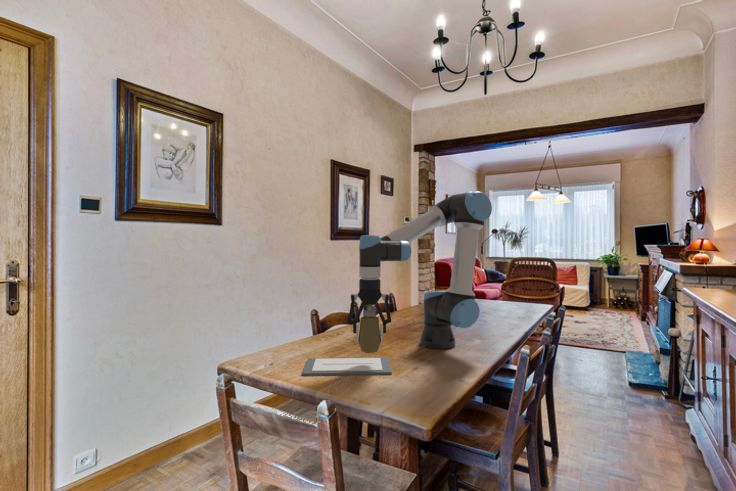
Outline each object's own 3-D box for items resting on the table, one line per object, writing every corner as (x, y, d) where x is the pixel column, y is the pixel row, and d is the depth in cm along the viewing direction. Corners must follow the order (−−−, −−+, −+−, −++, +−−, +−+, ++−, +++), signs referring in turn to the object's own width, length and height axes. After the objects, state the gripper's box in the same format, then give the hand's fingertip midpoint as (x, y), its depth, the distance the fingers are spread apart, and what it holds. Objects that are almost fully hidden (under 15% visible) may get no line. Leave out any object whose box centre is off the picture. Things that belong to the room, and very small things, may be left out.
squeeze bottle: (378, 355, 133) (378, 303, 132) (355, 353, 134) (356, 302, 134) (382, 348, 140) (382, 299, 140) (360, 347, 142) (361, 298, 142)
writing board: (387, 359, 146) (387, 356, 146) (391, 374, 130) (391, 371, 130) (308, 360, 145) (308, 357, 145) (302, 375, 129) (302, 372, 129)
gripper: (397, 277, 141) (397, 339, 141) (341, 277, 140) (340, 339, 141) (400, 279, 133) (399, 345, 134) (340, 279, 133) (339, 345, 133)
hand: (369, 342), depth 137 cm, fingers closed on squeeze bottle, 8 cm apart
